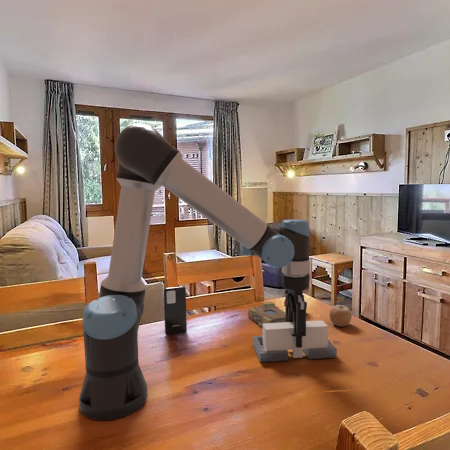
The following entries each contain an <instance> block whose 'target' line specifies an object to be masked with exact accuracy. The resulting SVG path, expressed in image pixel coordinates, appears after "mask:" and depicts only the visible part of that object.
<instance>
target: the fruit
mask: <svg viewBox="0 0 450 450" xmlns="http://www.w3.org/2000/svg"><path fill="white" fill-rule="evenodd" d="M352 315H353V314H352V311H351V309H350V308H349V307H348V306H346V305H342V302H339V304H337V305H333V306H332V307H331V308H330V310H329V319H330V322H331V323H332V324H333V325H335V326H337V327H340V328H341V327H346V326H347V325H349V324H350V323H351V320H352Z"/></svg>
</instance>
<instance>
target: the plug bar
mask: <svg viewBox="0 0 450 450" xmlns="http://www.w3.org/2000/svg"><path fill="white" fill-rule="evenodd" d="M261 328H262V331H261V332H262V336H263V346H264V348H265V351H278V350H287V351H290V350H292V351H293V337H292V335H291V334H294V325H293V322H282V323H264V324H262V327H261ZM328 340H329V325H328V324H326V323H325V321H324V320H308V321H307V320H306V336H303V349H310V348H327V347H328Z"/></svg>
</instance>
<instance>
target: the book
mask: <svg viewBox="0 0 450 450" xmlns="http://www.w3.org/2000/svg"><path fill="white" fill-rule="evenodd" d="M247 316H248V318H249V319H250V318H251V319H250V320H252V321H253V322H254V323H256V324H257V325H258V326H259V327H261V328H262V324H264V323H282V322H286V321H285V319H286V318H285V311H284V310H282V309H280V308H279V307H278V306H276V303H275V302H272V301H268V302H263V303H262V304H259V305H258V306H255V307H249V308H248V311H247Z"/></svg>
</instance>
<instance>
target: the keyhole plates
mask: <svg viewBox="0 0 450 450" xmlns="http://www.w3.org/2000/svg"><path fill="white" fill-rule="evenodd" d="M252 345H253V348H254V350H255V353H256V355H257V357H258V361H259V362H260V363H265V362H266V363H268V362H285V361H287V362H288V361H289V350H278V351H265V348H264V346H263V335H254V336H253V335H252ZM337 350H338V349H337V348H336V346H334V344H333V343H332V342H331V341H330V340H329V339H328V347H327V348H310V349H303V353H304V354H305V355H306V357H307V358H308V359H309V360H316V359H330V358H332V359H333V358H337V357H338V356H337V352H338V351H337Z"/></svg>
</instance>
